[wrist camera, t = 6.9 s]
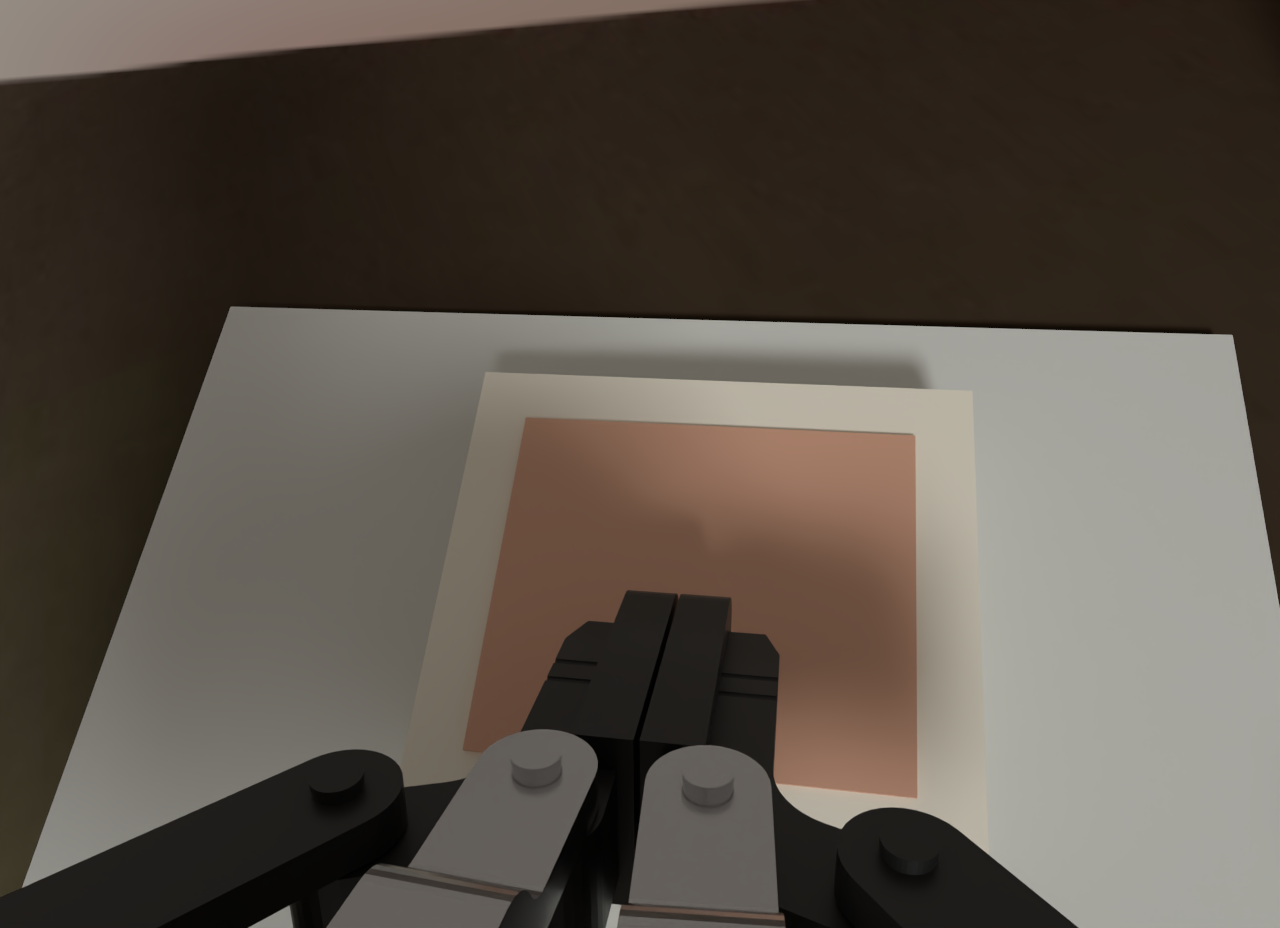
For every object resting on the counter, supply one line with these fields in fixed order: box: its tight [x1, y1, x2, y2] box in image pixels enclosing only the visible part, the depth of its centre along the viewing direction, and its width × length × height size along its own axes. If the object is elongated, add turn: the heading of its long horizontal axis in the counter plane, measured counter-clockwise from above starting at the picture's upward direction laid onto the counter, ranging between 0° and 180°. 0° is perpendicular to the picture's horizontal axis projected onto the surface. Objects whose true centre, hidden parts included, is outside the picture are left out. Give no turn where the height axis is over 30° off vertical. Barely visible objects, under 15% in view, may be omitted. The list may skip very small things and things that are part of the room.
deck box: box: [400, 372, 989, 855], centre depth 17 cm, size 9×2×8 cm
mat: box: [22, 307, 1280, 928], centre depth 18 cm, size 22×15×1 cm
